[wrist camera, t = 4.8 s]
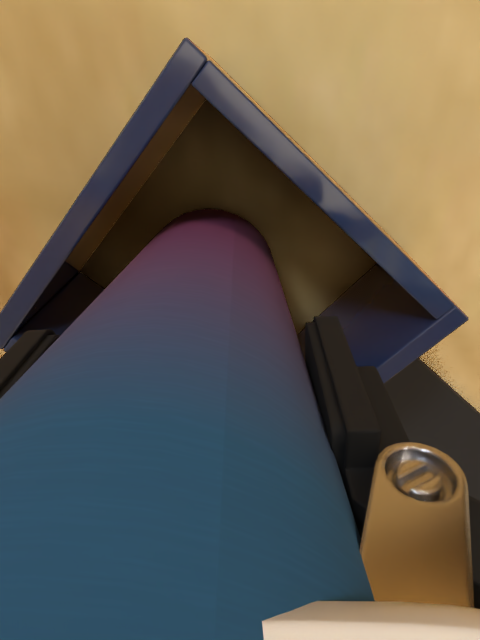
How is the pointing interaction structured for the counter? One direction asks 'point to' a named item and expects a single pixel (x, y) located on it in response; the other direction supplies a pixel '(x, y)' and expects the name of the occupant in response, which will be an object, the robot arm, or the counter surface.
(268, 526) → the cup
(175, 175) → the counter surface
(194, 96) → the holder
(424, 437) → the mat
